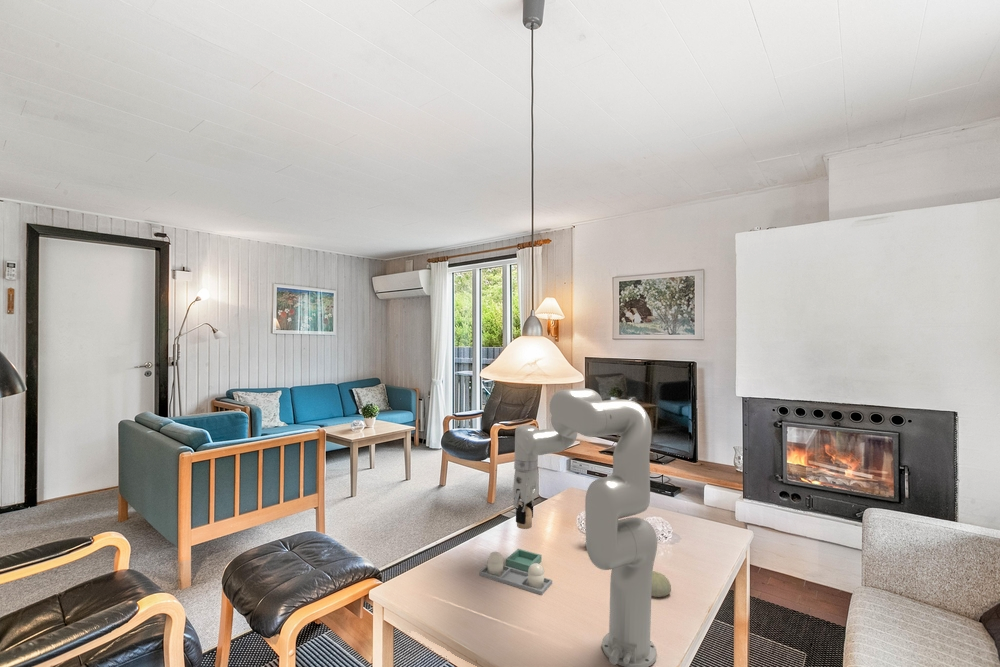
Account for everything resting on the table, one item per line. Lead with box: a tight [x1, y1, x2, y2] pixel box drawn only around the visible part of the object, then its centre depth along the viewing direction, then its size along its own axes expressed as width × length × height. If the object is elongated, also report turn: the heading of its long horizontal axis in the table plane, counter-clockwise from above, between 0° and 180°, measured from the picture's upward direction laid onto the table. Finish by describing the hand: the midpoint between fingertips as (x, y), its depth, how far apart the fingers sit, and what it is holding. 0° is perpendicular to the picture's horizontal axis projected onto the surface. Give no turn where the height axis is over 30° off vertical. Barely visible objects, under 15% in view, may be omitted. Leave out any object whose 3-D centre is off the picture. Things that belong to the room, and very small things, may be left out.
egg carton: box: [478, 564, 553, 596], centre depth 146 cm, size 7×21×2 cm, turn 61°
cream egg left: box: [487, 551, 504, 577], centre depth 149 cm, size 5×5×6 cm
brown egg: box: [516, 506, 533, 530], centre depth 155 cm, size 5×5×6 cm
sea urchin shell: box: [651, 570, 672, 598], centre depth 142 cm, size 9×8×8 cm
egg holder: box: [505, 548, 543, 573], centre depth 155 cm, size 9×9×3 cm
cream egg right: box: [527, 563, 545, 590], centre depth 142 cm, size 5×5×6 cm
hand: (524, 519), depth 155 cm, fingers closed on brown egg, 4 cm apart
